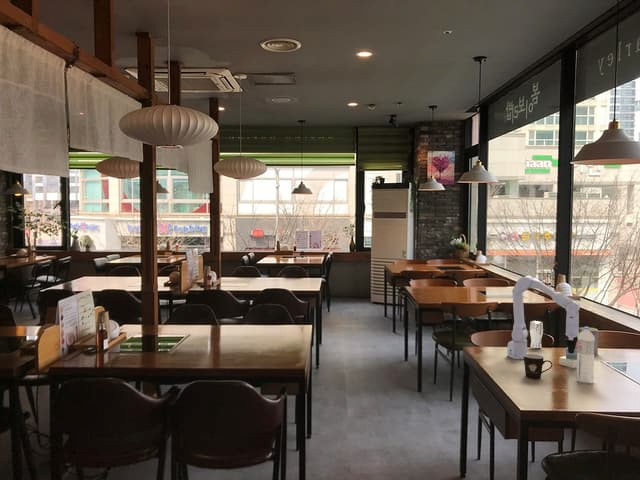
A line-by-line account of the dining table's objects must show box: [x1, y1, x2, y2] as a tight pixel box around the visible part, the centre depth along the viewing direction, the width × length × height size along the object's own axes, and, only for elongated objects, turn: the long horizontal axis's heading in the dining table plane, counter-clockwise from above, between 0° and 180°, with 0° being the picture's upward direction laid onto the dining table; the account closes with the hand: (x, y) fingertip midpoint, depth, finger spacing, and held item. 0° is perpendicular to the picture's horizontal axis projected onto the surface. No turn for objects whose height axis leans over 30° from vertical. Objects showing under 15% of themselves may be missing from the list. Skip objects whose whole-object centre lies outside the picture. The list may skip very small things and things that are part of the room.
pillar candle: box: [578, 326, 599, 356], centre depth 289 cm, size 10×10×15 cm
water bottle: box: [576, 326, 595, 385], centre depth 234 cm, size 7×7×25 cm
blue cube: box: [565, 347, 578, 360], centre depth 263 cm, size 5×5×5 cm
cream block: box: [559, 355, 577, 369], centre depth 263 cm, size 8×8×4 cm
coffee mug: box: [523, 353, 553, 381], centre depth 239 cm, size 12×9×10 cm
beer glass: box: [529, 320, 544, 349], centre depth 302 cm, size 7×7×15 cm
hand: (571, 351), depth 263 cm, fingers open, 7 cm apart
